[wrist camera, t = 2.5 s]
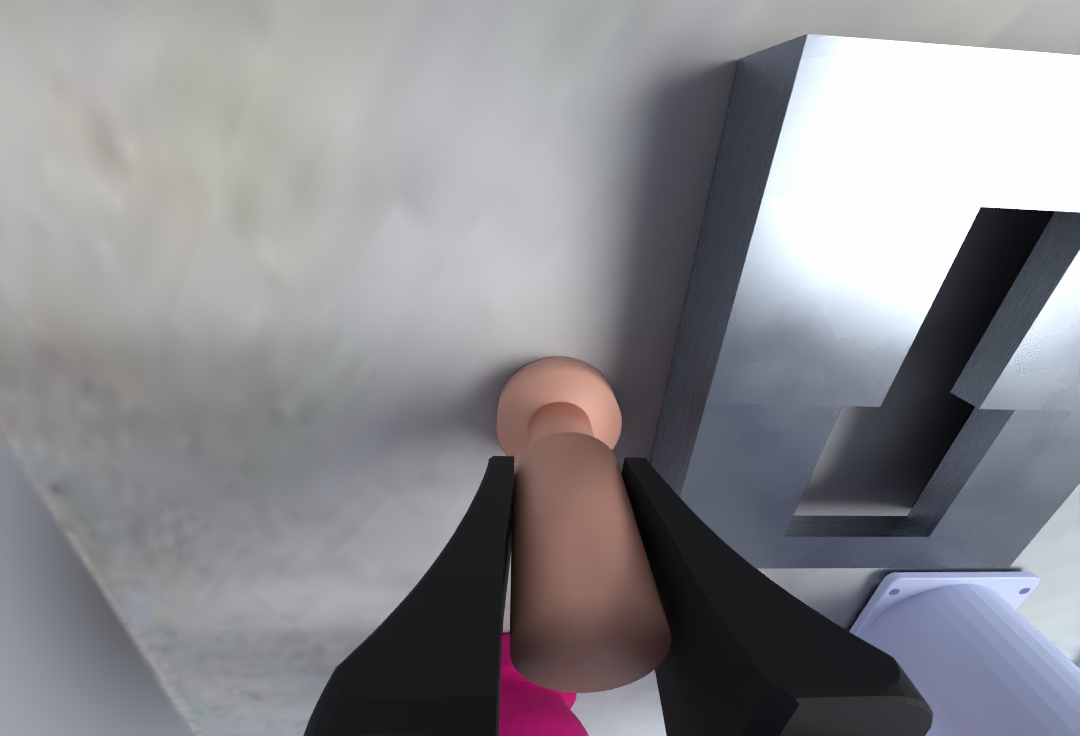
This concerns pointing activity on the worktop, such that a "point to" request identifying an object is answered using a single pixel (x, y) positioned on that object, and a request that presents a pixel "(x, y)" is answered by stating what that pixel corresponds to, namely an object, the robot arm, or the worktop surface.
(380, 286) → the worktop surface
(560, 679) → the peg
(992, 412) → the keyhole plate
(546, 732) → the pepper mill
